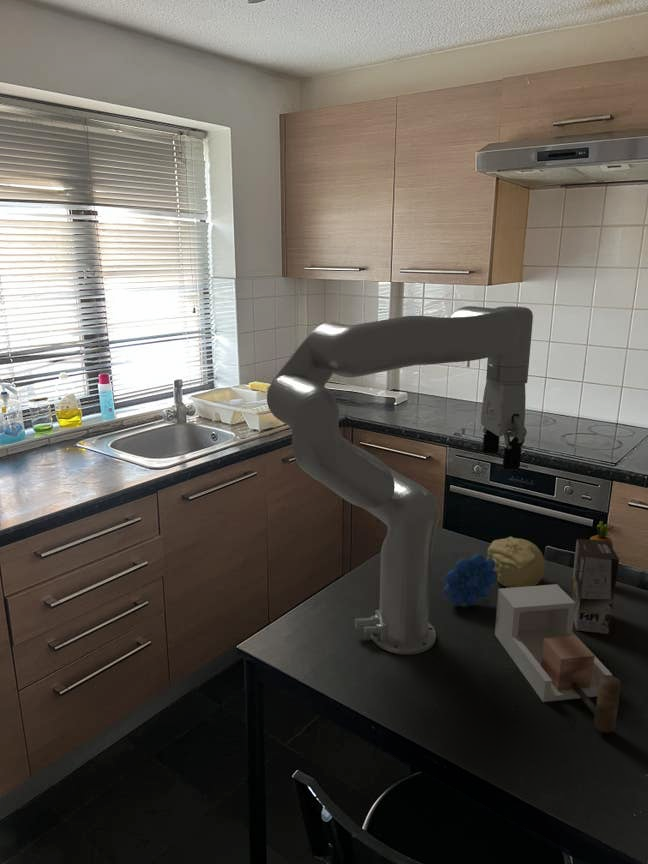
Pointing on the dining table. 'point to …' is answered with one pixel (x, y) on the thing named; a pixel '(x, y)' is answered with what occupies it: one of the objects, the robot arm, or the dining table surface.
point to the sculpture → (517, 562)
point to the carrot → (602, 533)
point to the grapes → (470, 580)
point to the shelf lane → (539, 634)
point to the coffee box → (594, 585)
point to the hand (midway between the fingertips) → (500, 460)
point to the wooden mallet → (581, 677)
